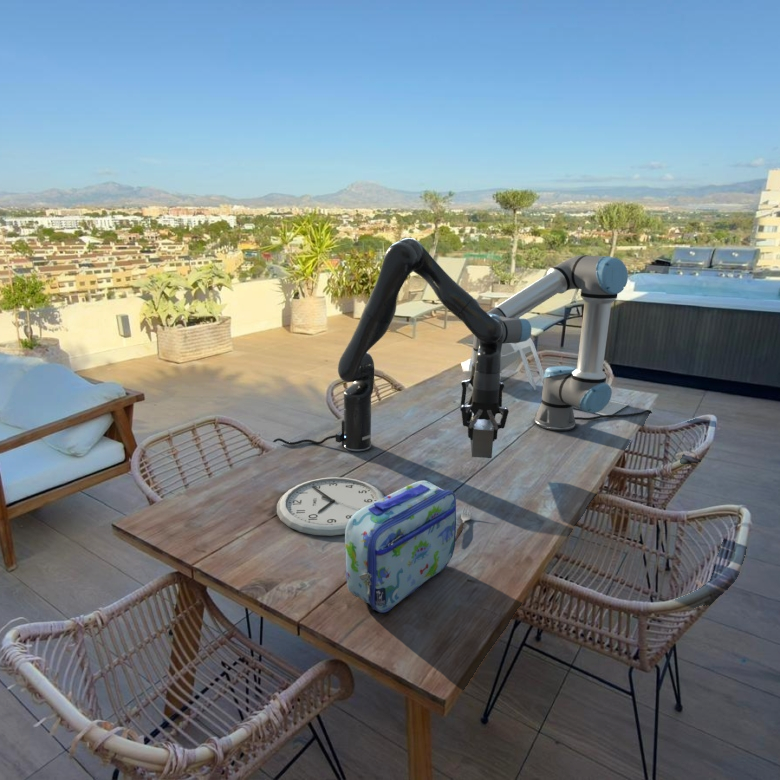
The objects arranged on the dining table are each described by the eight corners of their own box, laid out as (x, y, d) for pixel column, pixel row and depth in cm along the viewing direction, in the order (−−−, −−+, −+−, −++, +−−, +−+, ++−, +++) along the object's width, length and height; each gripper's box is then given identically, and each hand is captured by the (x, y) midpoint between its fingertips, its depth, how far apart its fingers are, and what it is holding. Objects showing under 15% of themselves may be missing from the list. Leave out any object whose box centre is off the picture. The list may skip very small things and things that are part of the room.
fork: (449, 542, 127) (449, 535, 126) (463, 510, 141) (464, 504, 140) (459, 544, 126) (460, 537, 125) (473, 512, 140) (473, 506, 139)
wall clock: (392, 527, 129) (268, 531, 127) (391, 533, 130) (269, 537, 127) (383, 473, 158) (282, 475, 155) (383, 478, 158) (282, 480, 156)
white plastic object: (482, 418, 266) (461, 395, 241) (463, 346, 288) (443, 318, 264) (553, 394, 254) (538, 368, 229) (528, 321, 276) (512, 289, 251)
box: (469, 429, 175) (471, 404, 173) (487, 430, 175) (489, 405, 172) (471, 457, 154) (473, 429, 151) (491, 458, 153) (493, 430, 151)
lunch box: (374, 626, 100) (375, 530, 93) (338, 598, 107) (337, 508, 101) (459, 568, 117) (465, 484, 111) (424, 547, 124) (427, 467, 118)
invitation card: (608, 416, 214) (573, 407, 224) (608, 416, 214) (573, 408, 224) (628, 404, 229) (594, 396, 238) (628, 405, 229) (594, 397, 238)
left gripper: (461, 388, 148) (457, 443, 153) (513, 390, 146) (507, 446, 151) (461, 380, 155) (457, 433, 160) (510, 383, 153) (505, 436, 158)
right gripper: (454, 365, 162) (450, 434, 169) (515, 368, 160) (509, 438, 167) (454, 359, 169) (450, 426, 176) (513, 362, 167) (507, 429, 174)
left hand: (482, 439), depth 156 cm, fingers closed on box, 5 cm apart
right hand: (479, 431), depth 172 cm, fingers closed on box, 6 cm apart
